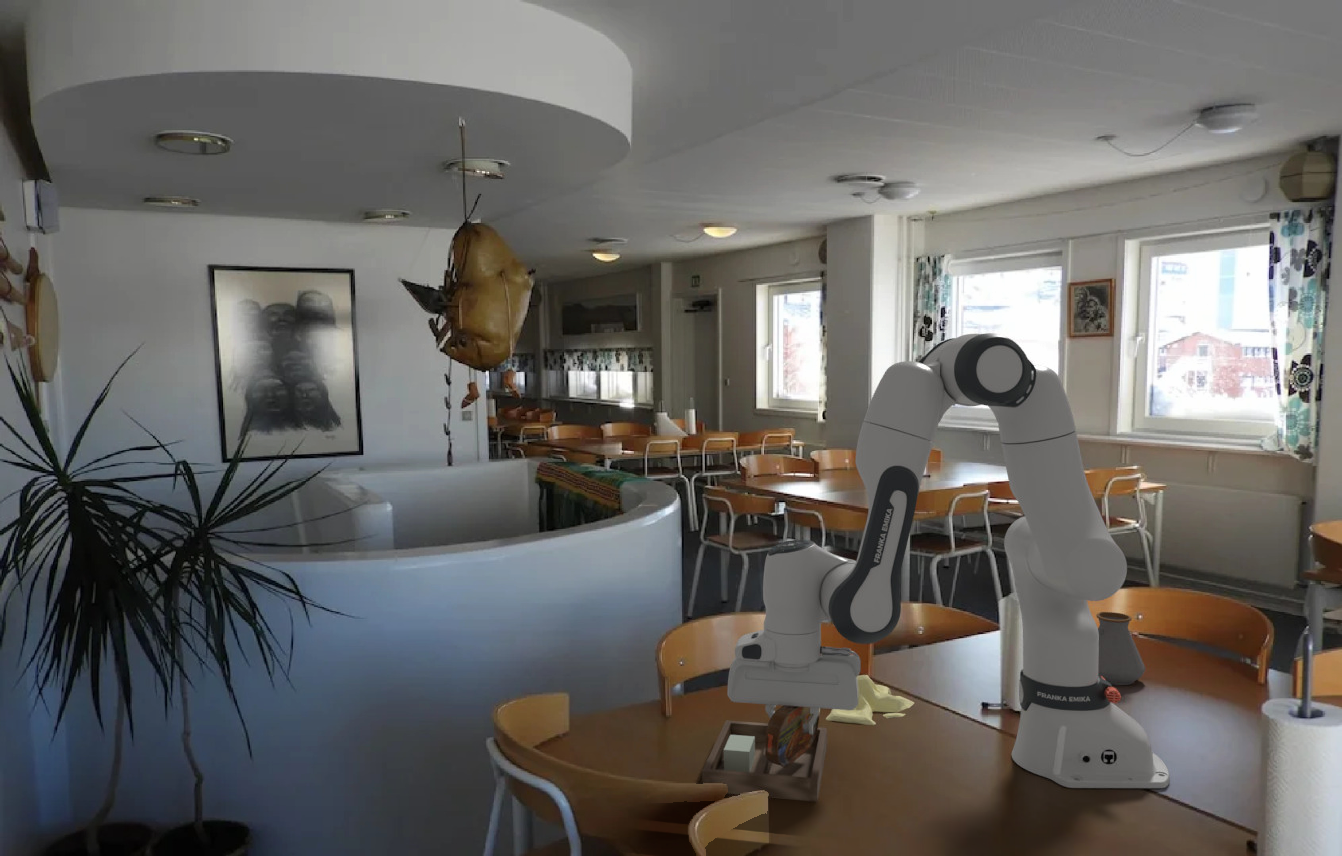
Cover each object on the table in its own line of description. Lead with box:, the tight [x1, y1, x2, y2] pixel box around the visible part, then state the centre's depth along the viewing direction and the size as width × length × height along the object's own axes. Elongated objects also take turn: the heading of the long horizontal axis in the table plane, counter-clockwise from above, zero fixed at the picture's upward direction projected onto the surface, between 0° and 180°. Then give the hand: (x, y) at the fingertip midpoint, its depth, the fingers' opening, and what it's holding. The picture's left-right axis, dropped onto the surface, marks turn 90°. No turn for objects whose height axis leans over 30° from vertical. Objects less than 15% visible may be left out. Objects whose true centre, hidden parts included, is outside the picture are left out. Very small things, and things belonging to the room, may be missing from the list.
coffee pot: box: [1095, 611, 1146, 686], centre depth 181 cm, size 21×12×15 cm, turn 105°
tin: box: [765, 705, 820, 767], centre depth 142 cm, size 15×3×8 cm, turn 147°
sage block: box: [724, 735, 755, 772], centre depth 144 cm, size 4×6×4 cm, turn 166°
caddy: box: [701, 719, 828, 803], centre depth 143 cm, size 17×20×4 cm
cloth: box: [825, 674, 915, 726], centre depth 171 cm, size 22×19×6 cm
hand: (793, 731), depth 142 cm, fingers closed on tin, 3 cm apart
